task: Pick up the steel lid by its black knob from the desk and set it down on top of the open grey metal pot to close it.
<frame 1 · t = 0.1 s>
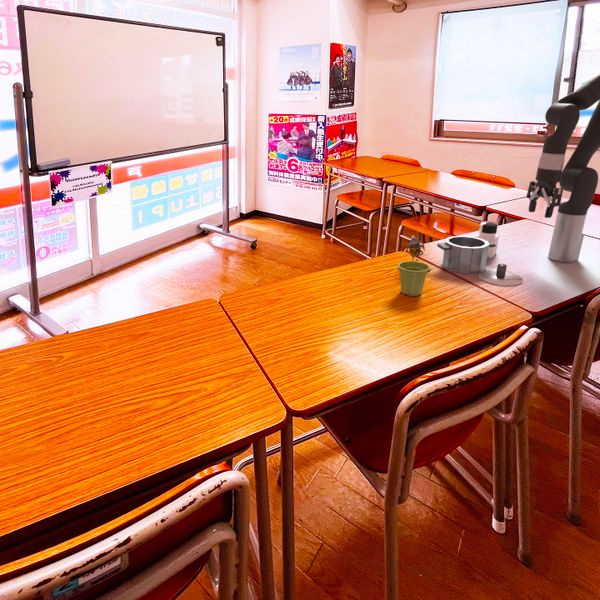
hand: (539, 214, 176), 17 cm above the table, tool pointing down, fingers open, 8 cm apart
lid: (499, 279, 167), on the table
pot: (463, 266, 178), on the table
medicine bottle: (484, 254, 191), on the table
robot figurine: (414, 269, 175), on the table
plant pot: (411, 293, 156), on the table
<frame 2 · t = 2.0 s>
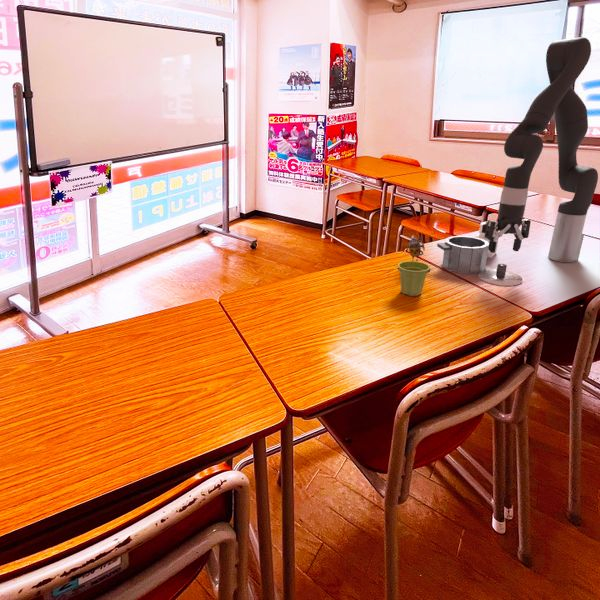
hand: (503, 251, 164), 9 cm above the table, tool pointing down, fingers open, 8 cm apart
nothing on the table moved.
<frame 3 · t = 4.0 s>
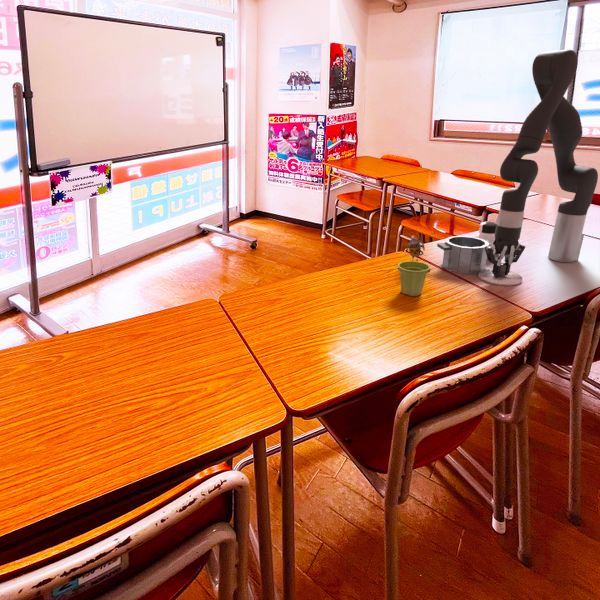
hand: (500, 274, 167), 1 cm above the table, tool pointing down, fingers closed on lid, 3 cm apart
lid: (499, 278, 167), on the table, touching gripper
everything else where it was.
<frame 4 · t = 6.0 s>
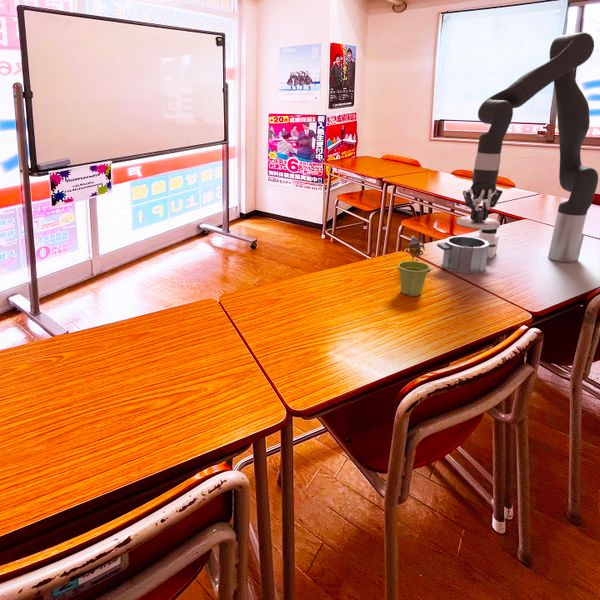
hand: (478, 220, 168), 17 cm above the table, tool pointing down, fingers closed on lid, 3 cm apart
lid: (477, 224, 168), point 16 cm above the table, touching gripper
everything else where it was.
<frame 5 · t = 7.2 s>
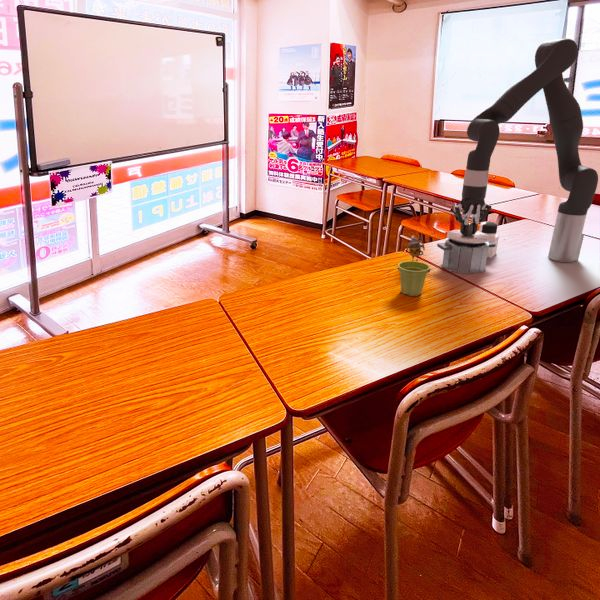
hand: (467, 234, 173), 12 cm above the table, tool pointing down, fingers closed on lid, 3 cm apart
lid: (467, 237, 173), point 10 cm above the table, touching gripper
everything else where it was.
when the fingers open (11 cm above the table, at t = 8.0 s): lid stays where it is, resting on pot.
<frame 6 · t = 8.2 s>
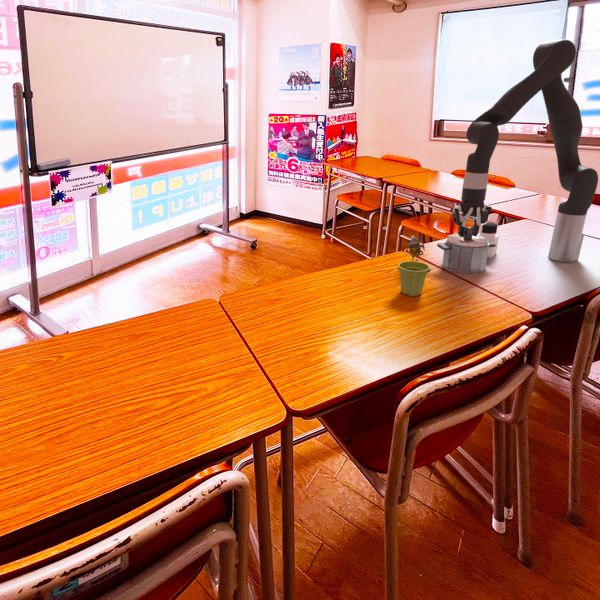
hand: (467, 235, 173), 11 cm above the table, tool pointing down, fingers open, 4 cm apart
lid: (467, 241, 174), point 9 cm above the table, touching pot
everything else where it was.
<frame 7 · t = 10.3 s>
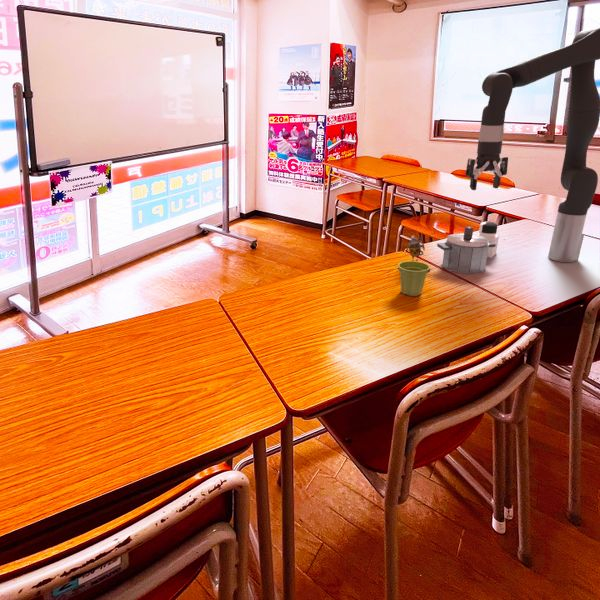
hand: (484, 188, 173), 26 cm above the table, tool pointing down, fingers open, 8 cm apart
nothing on the table moved.
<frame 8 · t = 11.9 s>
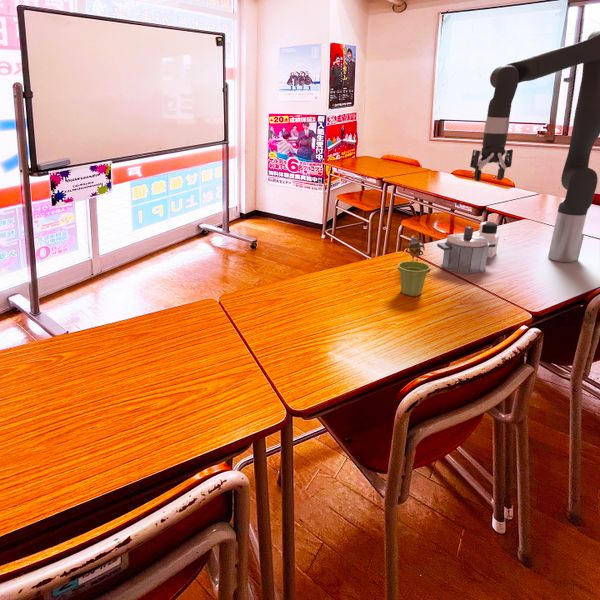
hand: (488, 180, 176), 28 cm above the table, tool pointing down, fingers open, 8 cm apart
nothing on the table moved.
at the end: lid 0.1 cm off-centre on the pot, point 9.0 cm above the pot's base; lid tilted 0°; the gripper is holding nothing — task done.
